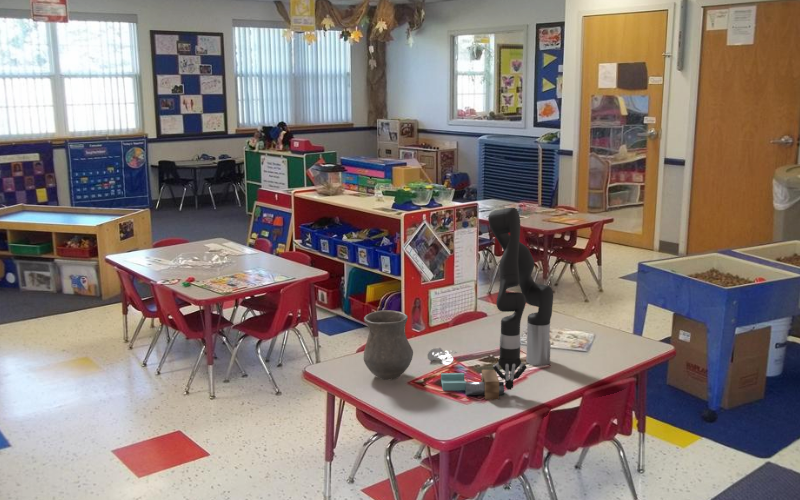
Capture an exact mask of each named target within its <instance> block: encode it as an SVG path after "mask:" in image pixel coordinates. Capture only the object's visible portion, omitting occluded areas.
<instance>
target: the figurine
mask: <svg viewBox="0 0 800 500" xmlns="http://www.w3.org/2000/svg"><path fill="white" fill-rule="evenodd" d="M457 353H458V351H454V350H445V351H444V350H443V349H442V348H441V347H434V348H433V347H432V348H431V349H430V350H429V351H428V352H427V359H428V361H431V362H433V361H436V360H439V361H440V362H441V364H442V365H445V366H448V365H450V364H452V363H453V361H454V357H453V356H452V354H457Z"/></svg>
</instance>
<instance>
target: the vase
mask: <svg viewBox="0 0 800 500" xmlns="http://www.w3.org/2000/svg"><path fill="white" fill-rule="evenodd" d="M408 317H409V316H408V315H407V314H406V313H405V312H402V311H396V310H390V309H389V310H388V309H387V310H385V309H384V310H383V309H382V310H378V311H377V310H376V311H374V312H373V311H372V312H370V313H368V314H366V315H365V316H364V317H363V321H364V323H366V325H367V327H368V329H369V333H368V335H367V339H366V343H365V346H364V351H363V362H364V364H365V366H366V368H367V369H368V370H369V371H370V373H371V374H372V375H373V376H375V377H376V378H377V379H380V380H386V381H387V380H388V381H391V380H396V379H398V378H399V377H401V376H402V375H403V374H405V372H406V370H407V369H408V368H409V367H410V365H411V362H412V360H413V356H414V349H413V348H412V346H411V344H410V342H409V340H408V337H407V335H406V331H405V330H406V325H407V321H408Z"/></svg>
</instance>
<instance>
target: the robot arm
mask: <svg viewBox="0 0 800 500" xmlns="http://www.w3.org/2000/svg"><path fill="white" fill-rule="evenodd" d="M487 222H488V225H489V228H490V230H491V232H492V234H493V236H494V237H495V239H496V240H497V241H498V243H499V245H500V246H501V249H502V250H503V253H502V256H501V257H500V260H499V264H498V265H499V287H498V293H497V297H496V302H495V304H496V308H497V309H498V311H499V312H501V313H504V312H505V313H506V312H507V313H509V312H511V313H512V312H513V313H512V314H511V315H506V316H504V317H502V318H501V321H500V334H499V335H500V336H499V356H498V357H499V358H498V360H497V362H496V363H495V364H493V365H492V368H493V369H492V370H495V371H496V374H497V376H499V377H500V379H502V380H505V381H504V388H506V390H509V391H510V390H512V389H513V388H514V381H515V380H518V379H519V378H520V377H521V375H522V374H523V373H524V372H525V371H526V370H527V368H528V367H527V365H526V363H527V364H529V365H532V366H539V367H541V366H546V365H550V364H551V340H550V336H551V335H550V332H551V319H552V314H553V303H554V289H553V288H552V287H551V286H550V285H546V284H541V283H536V282H535V281H534V280H533V277H532V273H533V271H534V269H535V259H534V257H533V255H532V253H531V251H530V249H529V248H528V247H527V246H526V245H525V244H524V243H522V242H520V241H521V240H520V236H521V217H520V214H519V211H518V209H517V208H516V207H506V208H502V209H496V210H493V211H491V212H489V214H488V221H487ZM517 286H519V288H520V291H516V292H515V291H514V292H513V291H511V292H509V291H508V292H507V290H509V289H510V288H515V287H517ZM526 303H527V305H529V306H533V307H536V308H538V310H537V312H532V313H529V314H528V315H527V325H526V327H527V328H526V335H527V336H526V356H525V357H526V358H525V359H526V360H525V361H526V363H523V362H522V360H521V320H522V318H523V314H524V310H525V308H526ZM500 367H501V369H502V370H503V371H504V374H503V372H502V371H501V370H500Z"/></svg>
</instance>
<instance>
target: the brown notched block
mask: <svg viewBox="0 0 800 500" xmlns="http://www.w3.org/2000/svg"><path fill="white" fill-rule="evenodd" d="M481 382H485V395H484V400H486V401H487V400H499V399H500V395H499V382H500V380H499V377H498V374H497V372H496V371H495V370H494V369H481Z"/></svg>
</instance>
